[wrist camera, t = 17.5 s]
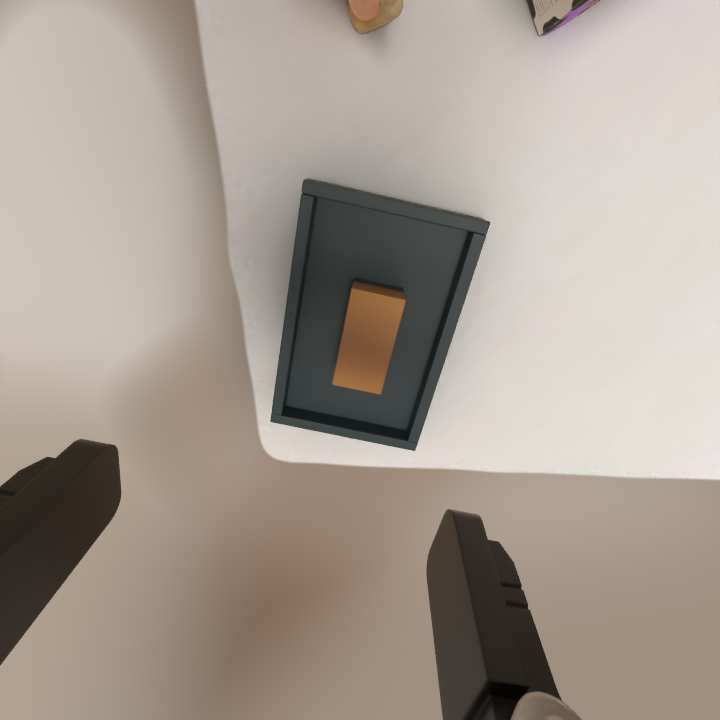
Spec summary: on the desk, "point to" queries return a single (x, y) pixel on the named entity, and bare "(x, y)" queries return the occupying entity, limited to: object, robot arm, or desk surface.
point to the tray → (331, 297)
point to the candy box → (556, 12)
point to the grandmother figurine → (373, 13)
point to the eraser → (368, 335)
